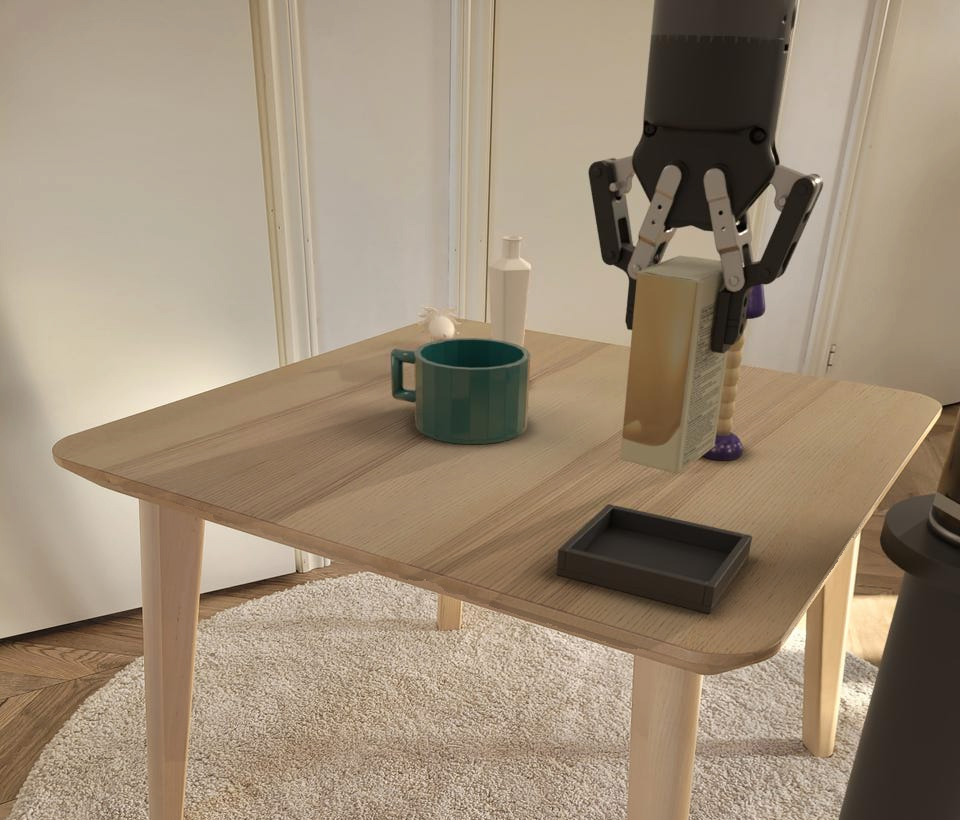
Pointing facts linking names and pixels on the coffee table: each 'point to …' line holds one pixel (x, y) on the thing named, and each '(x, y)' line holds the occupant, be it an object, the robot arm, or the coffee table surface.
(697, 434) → the cosmetic box
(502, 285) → the white bottle vase
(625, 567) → the tray
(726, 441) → the toy lamp
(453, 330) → the cream spiky figurine
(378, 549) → the coffee table surface
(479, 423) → the teal coffee mug
